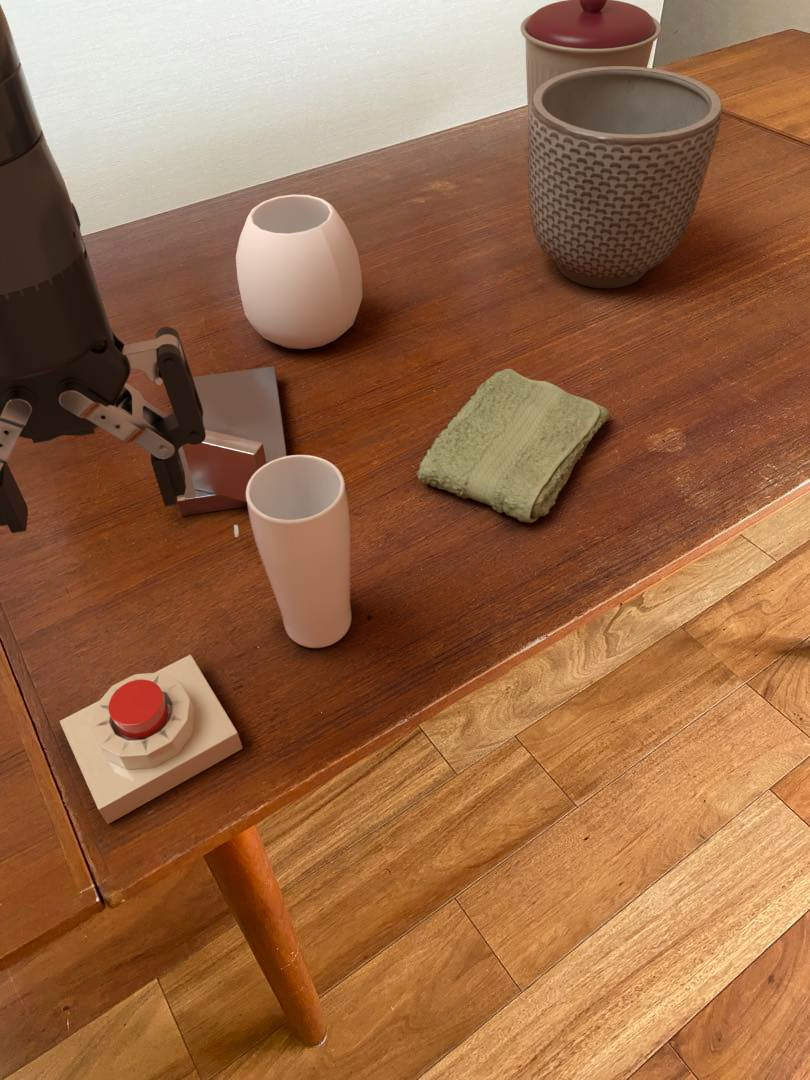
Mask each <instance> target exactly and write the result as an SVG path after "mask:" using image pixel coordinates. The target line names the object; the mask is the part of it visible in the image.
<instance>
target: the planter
mask: <svg viewBox="0 0 810 1080" xmlns="http://www.w3.org/2000/svg"><path fill="white" fill-rule="evenodd" d="M722 112H723V104H722V100H721V98H720V97H719V95H718V94H717V93H716V92H715V90H713V89H712V88H711V87H709V86H708V85H706V84H705V83H703V82H702V81H699V80H697V79H695V78H693V77H690V76H687V75H684V74H682V73H677V72H674V71H669V70H665V69H658V68H652V67H647V68H645V67H633V66H606V67H594V68H586V69H580V70H575V71H571V72H567V73H564V74H561V75H558V76H555V77H553V78H551V79H549V80H547V81H546V82H544V83H543V84H541V85H540V86H539V87H538V88H537V89H536V90H535V91H534V93H533V96H532V98H531V103H530V109H529V119H528V126H527V127H528V128H527V129H528V131H527V134H528V135H527V136H528V137H527V142H528V144H527V148H528V149H527V187H528V188H527V189H528V207H529V217H530V218H529V219H530V223H531V227H532V230H533V234H534V237H535V239H536V241H537V243H538V244H539V247H540V248H541V250H542V251H543V252H544V253H545V254H546V256H547V257H548V258H550V260H551V261H552V262H553V263H554V264H555V265H556V267H557V269H558V270H559V272H560V273H561V274H562V275H563V276H564V277H565V278H567V279H568V280H569V281H571V282H573V283H576V284H578V285H580V286H584V287H588V288H592V289H604V290H606V289H618V288H623V287H626V286H630V285H631V284H634V283H635V282H637V281H639V280H640V279H641V278H642V277H643V276H644V275H645V274H646V273H647V272H648V271H650V270H651V269H654V268H656V267H657V266H658V265H659V264H661V263H662V262H664V261H665V260H666V259H667V258H668V257H669V256H670V255H671V254H672V253H673V252H674V251H675V250H676V249H677V247H678V246H679V245H680V243H681V241H682V239H683V238H684V235H686V232H687V230H688V228H689V225H690V223H691V222H692V221H691V220H692V218H693V215H694V212H695V210H696V207H697V204H698V201H699V198H700V195H701V192H702V190H703V186H704V183H705V179H706V176H707V172H708V169H709V166H710V162H711V159H712V155H713V151H714V149H715V145H716V142H717V138H718V136H719V135H718V134H719V130H720V128H721V121H722Z"/></svg>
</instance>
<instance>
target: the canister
mask: <svg viewBox="0 0 810 1080" xmlns="http://www.w3.org/2000/svg"><path fill="white" fill-rule="evenodd" d="M520 32H521V35H522V37H523V38H525V42H524V43H525V69H526V70H525V71H526V97H527V118H528V120H529V109H530V103H531V98H532V96H533V93H534V91H535V90H536V89H537V88H538V87H539V86H540V85H541V84H543V83H544V82H546V81H547V80H549V79H551V78H553V77H555V76H558V75H561V74H564V73H567V72H571V71H575V70H580V69H586V68H594V67H606V66H633V67H645V68H648V67H649V66H648V65H649V62H650V57H651V54H652V50H653V45H654V42H655V41H656V40H657V39H658V38H659V37H660V36H661V33H662V25H661V23H660V22H659V21H658V19H656V18H655V17H653V16H652V15H651V14H650V13H649V12H648V11H647V10H645V9H643V8H641V7H640V6H637V5H635V4H632V3H628V2H625V1H620V0H560V1H556V2H553V3H549V4H547V5H544V6H542V7H540V8H538V9H537V10H535V12H533V13H532V14H530V15H528V16H527V17H525V18H524V19H523V20H522V22H521V24H520Z"/></svg>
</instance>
